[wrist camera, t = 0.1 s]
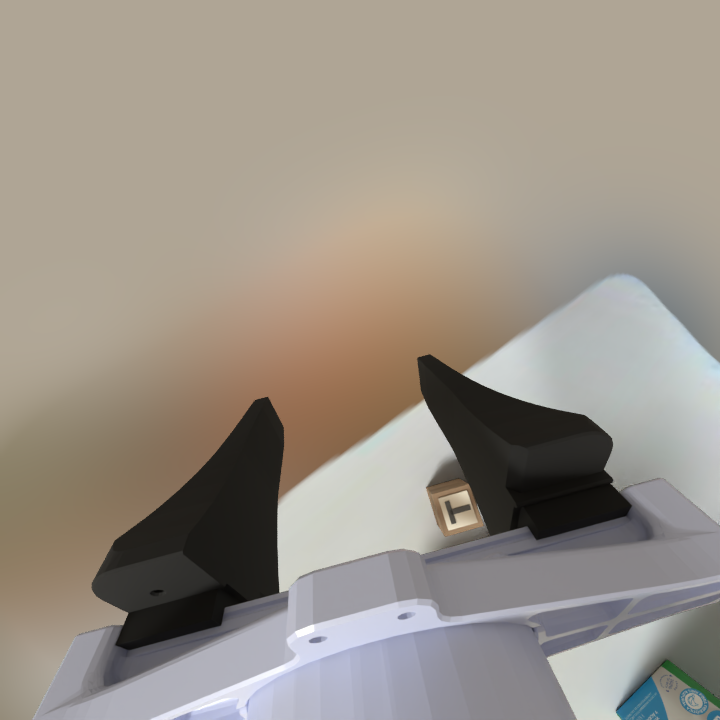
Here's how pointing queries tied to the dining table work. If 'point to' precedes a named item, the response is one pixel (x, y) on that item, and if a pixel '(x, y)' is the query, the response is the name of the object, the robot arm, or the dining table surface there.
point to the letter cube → (454, 507)
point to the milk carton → (670, 698)
